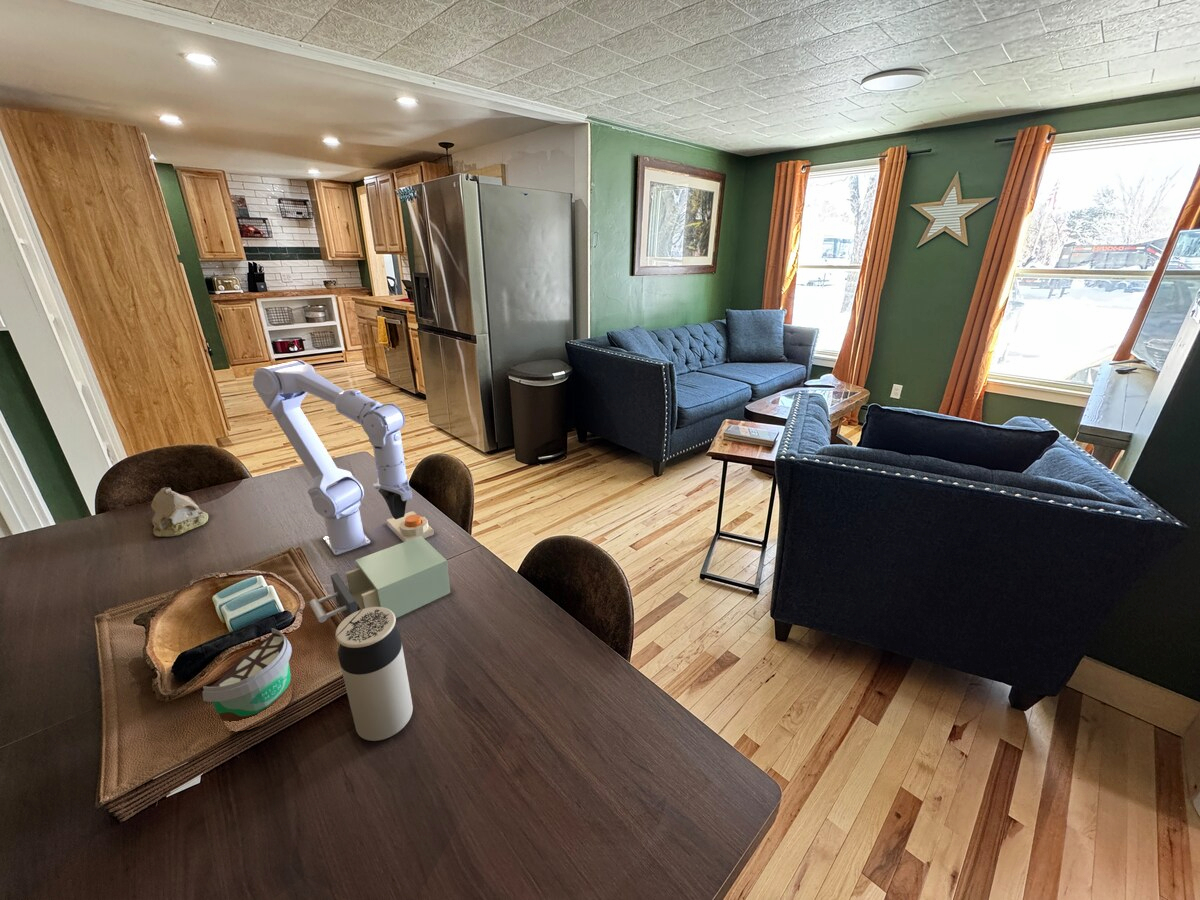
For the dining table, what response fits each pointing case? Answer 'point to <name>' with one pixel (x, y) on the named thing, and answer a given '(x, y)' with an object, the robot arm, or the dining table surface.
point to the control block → (409, 528)
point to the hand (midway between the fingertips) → (398, 516)
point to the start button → (413, 520)
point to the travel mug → (374, 672)
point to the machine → (406, 575)
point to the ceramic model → (175, 513)
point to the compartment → (348, 595)
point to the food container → (253, 680)
